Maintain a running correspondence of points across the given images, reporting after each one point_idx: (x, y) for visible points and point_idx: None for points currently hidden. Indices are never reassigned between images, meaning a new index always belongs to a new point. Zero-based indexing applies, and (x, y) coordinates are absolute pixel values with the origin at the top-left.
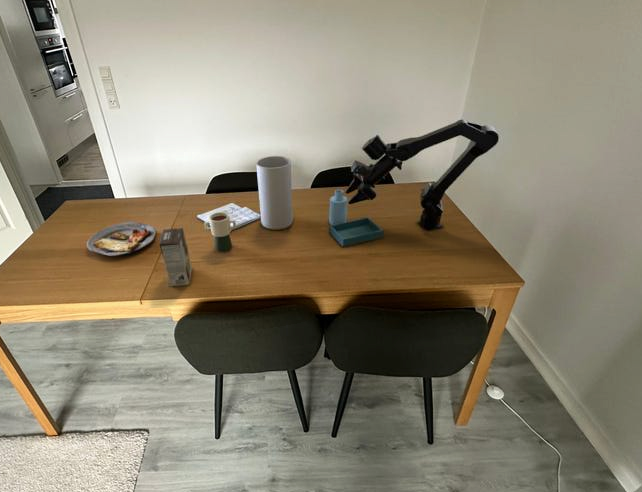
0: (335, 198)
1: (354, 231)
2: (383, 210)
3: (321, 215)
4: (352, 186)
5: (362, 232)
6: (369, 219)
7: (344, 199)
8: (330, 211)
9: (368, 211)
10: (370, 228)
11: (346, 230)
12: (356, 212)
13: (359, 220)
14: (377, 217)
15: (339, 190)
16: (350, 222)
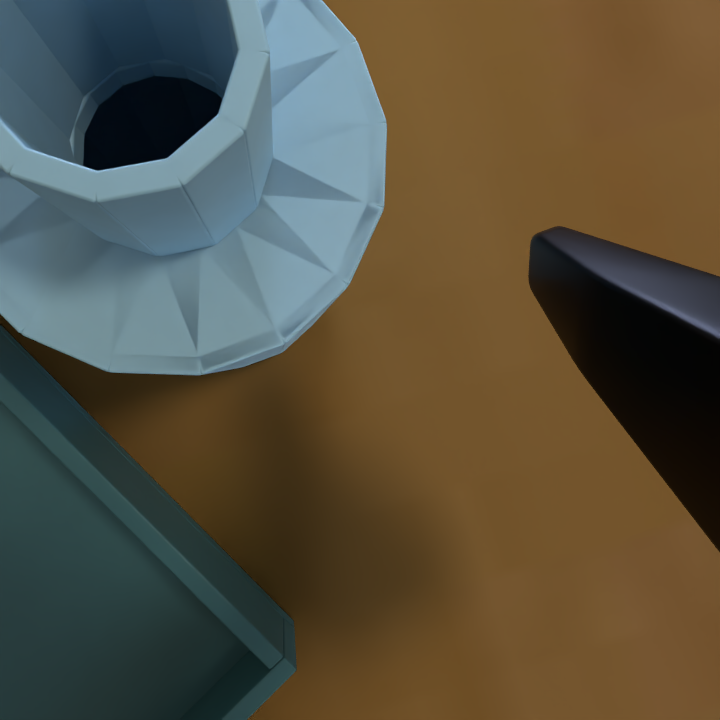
0: (56, 56)
1: (11, 542)
2: (690, 710)
3: (337, 14)
4: (709, 402)
5: (21, 646)
6: (231, 717)
7: (166, 303)
8: (106, 104)
9: (614, 549)
10: (160, 710)
11: (1, 437)
12: (547, 418)
13: (183, 578)
14: (498, 693)
15: (234, 32)
16: (77, 473)
